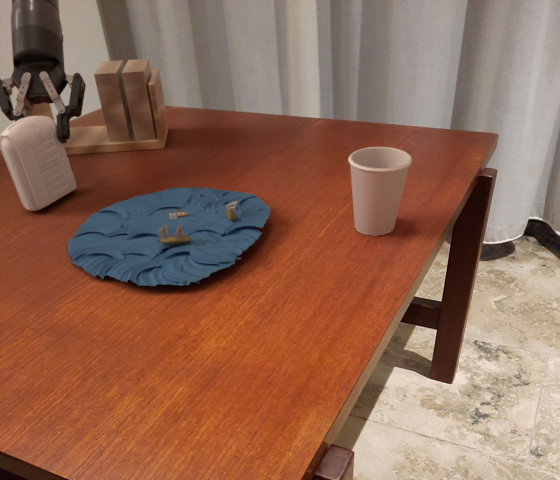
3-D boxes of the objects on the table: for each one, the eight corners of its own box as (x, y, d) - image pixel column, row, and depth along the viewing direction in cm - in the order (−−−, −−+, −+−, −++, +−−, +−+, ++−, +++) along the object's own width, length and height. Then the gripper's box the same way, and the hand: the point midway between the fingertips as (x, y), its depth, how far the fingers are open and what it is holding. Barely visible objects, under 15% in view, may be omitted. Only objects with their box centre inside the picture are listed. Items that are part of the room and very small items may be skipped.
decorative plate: (69, 321, 67) (54, 285, 63) (71, 215, 89) (60, 183, 85) (302, 271, 71) (300, 235, 68) (249, 181, 93) (246, 150, 90)
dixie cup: (335, 232, 79) (337, 162, 73) (359, 209, 84) (363, 142, 78) (390, 245, 76) (398, 173, 69) (412, 220, 81) (421, 151, 74)
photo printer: (62, 185, 95) (35, 108, 87) (82, 187, 93) (56, 109, 85) (20, 210, 88) (-14, 129, 80) (41, 213, 86) (9, 130, 78)
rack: (40, 156, 107) (16, 80, 98) (54, 136, 116) (33, 64, 107) (164, 148, 108) (151, 71, 99) (168, 128, 117) (157, 57, 108)
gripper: (-21, 25, 84) (-15, 133, 83) (75, 20, 85) (82, 127, 84) (2, 56, 91) (7, 156, 90) (90, 51, 92) (96, 150, 91)
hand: (43, 141), depth 87 cm, fingers closed on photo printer, 5 cm apart
